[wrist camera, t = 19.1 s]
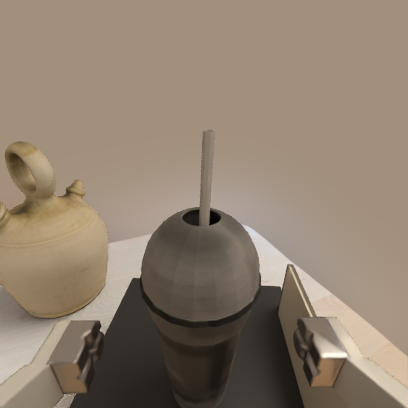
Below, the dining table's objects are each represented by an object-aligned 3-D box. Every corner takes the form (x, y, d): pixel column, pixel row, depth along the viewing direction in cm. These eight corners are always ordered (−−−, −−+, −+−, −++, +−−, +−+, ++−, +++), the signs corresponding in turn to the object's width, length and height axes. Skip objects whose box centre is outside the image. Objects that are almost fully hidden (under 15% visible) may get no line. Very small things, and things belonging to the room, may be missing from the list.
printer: (10, 670, 13) (-182, 657, 6) (137, 324, 33) (122, 234, 26) (356, 721, 12) (553, 770, 5) (270, 333, 32) (289, 242, 25)
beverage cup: (227, 331, 22) (246, 120, 14) (259, 424, 16) (329, 137, 8) (153, 346, 21) (125, 120, 13) (156, 456, 14) (101, 142, 6)
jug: (22, 353, 29) (-76, 163, 18) (6, 287, 39) (-64, 139, 28) (131, 289, 39) (107, 143, 28) (96, 250, 49) (69, 131, 38)
